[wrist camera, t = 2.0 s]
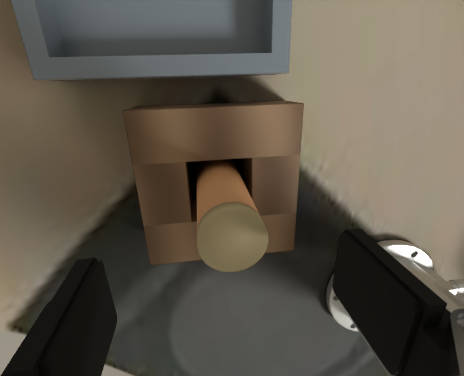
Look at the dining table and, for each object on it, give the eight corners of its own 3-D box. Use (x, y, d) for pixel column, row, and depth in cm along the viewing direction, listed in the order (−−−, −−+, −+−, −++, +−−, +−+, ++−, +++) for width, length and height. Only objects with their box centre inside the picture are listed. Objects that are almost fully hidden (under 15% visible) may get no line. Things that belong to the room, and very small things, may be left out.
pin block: (285, 100, 22) (303, 103, 18) (279, 226, 26) (293, 250, 22) (136, 106, 20) (123, 111, 17) (157, 238, 25) (150, 265, 21)
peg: (236, 153, 23) (269, 207, 13) (237, 191, 24) (267, 268, 14) (194, 155, 22) (194, 213, 12) (198, 194, 24) (199, 275, 13)
